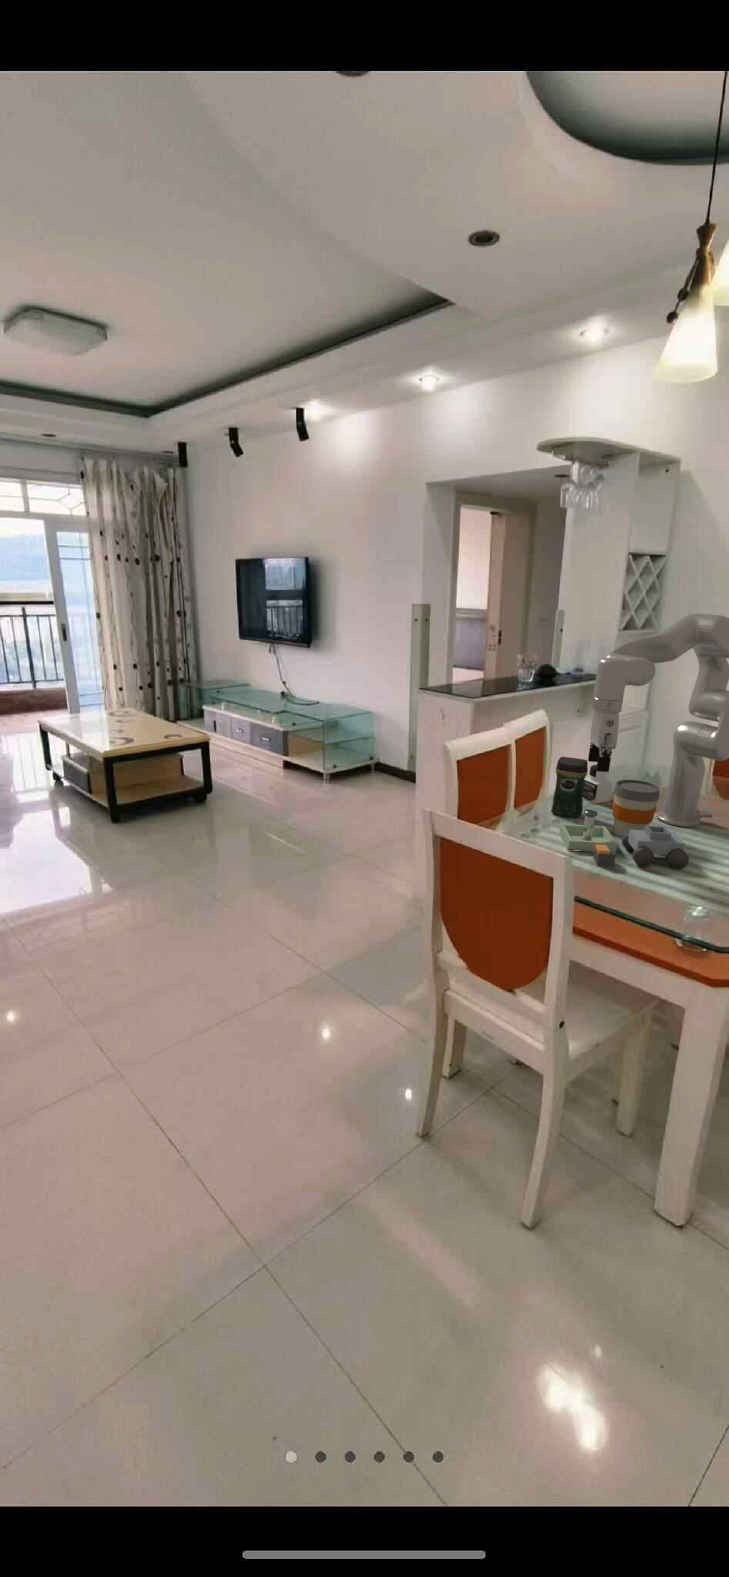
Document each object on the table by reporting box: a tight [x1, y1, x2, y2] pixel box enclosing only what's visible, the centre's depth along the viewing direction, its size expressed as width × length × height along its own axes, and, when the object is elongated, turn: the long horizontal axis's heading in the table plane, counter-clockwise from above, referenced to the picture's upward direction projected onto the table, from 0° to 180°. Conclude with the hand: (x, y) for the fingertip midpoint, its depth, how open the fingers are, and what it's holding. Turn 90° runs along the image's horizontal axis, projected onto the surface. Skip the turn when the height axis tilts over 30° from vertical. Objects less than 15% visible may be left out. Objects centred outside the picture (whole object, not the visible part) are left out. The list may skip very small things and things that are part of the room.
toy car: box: [621, 825, 690, 870], centre depth 180 cm, size 14×12×8 cm
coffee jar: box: [550, 756, 589, 818], centre depth 210 cm, size 10×8×19 cm
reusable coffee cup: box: [612, 779, 661, 838], centre depth 196 cm, size 13×13×15 cm
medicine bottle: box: [583, 764, 614, 805], centre depth 225 cm, size 7×7×12 cm
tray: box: [558, 823, 618, 854], centre depth 190 cm, size 13×13×3 cm
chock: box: [592, 844, 617, 868], centre depth 177 cm, size 4×4×4 cm
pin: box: [582, 808, 599, 841], centre depth 189 cm, size 4×4×9 cm
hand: (598, 766), depth 183 cm, fingers open, 9 cm apart
